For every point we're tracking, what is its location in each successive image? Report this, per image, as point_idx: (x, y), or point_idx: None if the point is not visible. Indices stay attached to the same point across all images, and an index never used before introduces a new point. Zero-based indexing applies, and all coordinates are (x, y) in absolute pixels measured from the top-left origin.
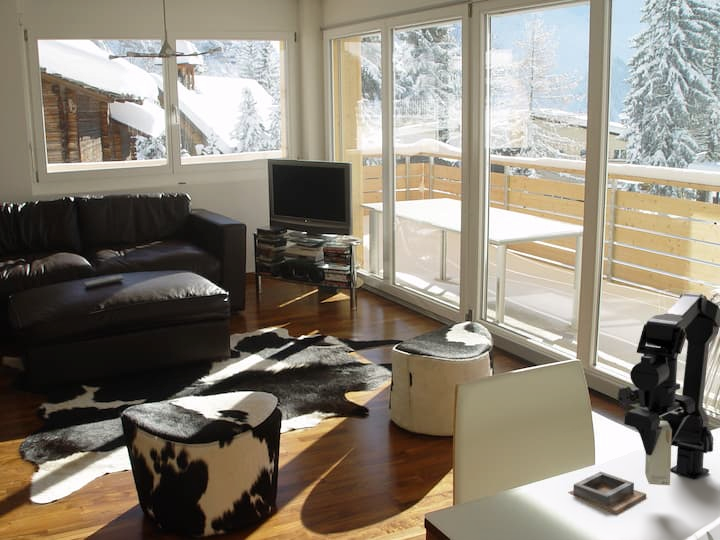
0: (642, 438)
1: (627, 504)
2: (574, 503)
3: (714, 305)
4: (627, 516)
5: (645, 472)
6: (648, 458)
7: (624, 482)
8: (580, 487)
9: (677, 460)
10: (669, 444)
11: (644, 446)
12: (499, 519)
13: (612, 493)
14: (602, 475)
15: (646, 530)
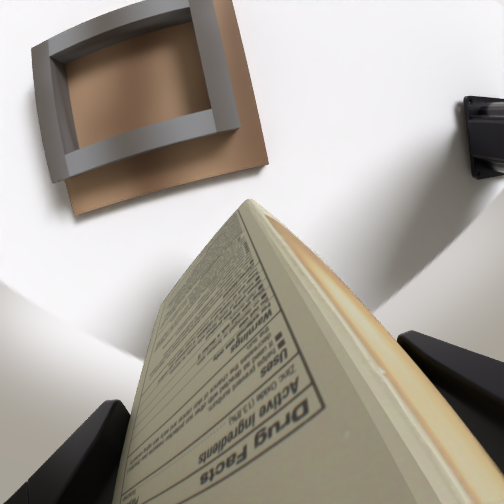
0: (26, 499)
1: (140, 195)
2: (29, 97)
3: None
4: (103, 241)
5: (236, 212)
6: (164, 347)
7: (210, 101)
8: (34, 73)
9: (493, 123)
10: None
11: (70, 445)
12: None
13: (84, 167)
14: (190, 8)
15: (101, 326)
